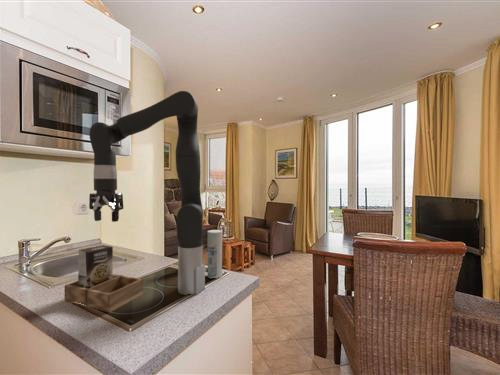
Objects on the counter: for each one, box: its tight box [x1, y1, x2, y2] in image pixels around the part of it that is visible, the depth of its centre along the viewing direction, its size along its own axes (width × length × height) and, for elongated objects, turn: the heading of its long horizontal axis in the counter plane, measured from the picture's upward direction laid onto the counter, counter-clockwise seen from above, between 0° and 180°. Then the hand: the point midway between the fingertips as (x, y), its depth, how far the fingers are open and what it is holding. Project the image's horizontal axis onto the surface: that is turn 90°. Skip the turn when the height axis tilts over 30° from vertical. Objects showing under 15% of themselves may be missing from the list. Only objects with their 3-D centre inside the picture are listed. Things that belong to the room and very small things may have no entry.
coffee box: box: [77, 244, 114, 289], centre depth 88 cm, size 9×6×16 cm
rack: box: [64, 273, 144, 313], centre depth 87 cm, size 21×14×6 cm, turn 70°
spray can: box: [207, 229, 223, 279], centre depth 108 cm, size 6×6×20 cm
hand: (106, 221), depth 91 cm, fingers open, 8 cm apart
